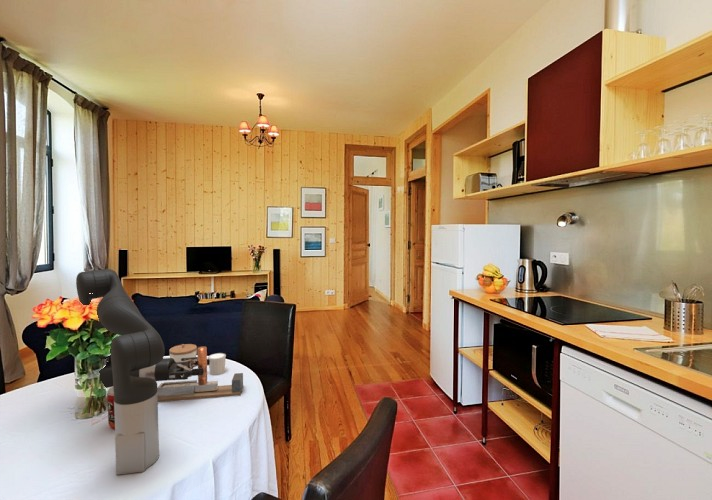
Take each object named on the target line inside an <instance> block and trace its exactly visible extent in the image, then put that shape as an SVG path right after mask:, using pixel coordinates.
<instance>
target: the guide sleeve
mask: <svg viewBox="0 0 712 500" xmlns="http://www.w3.org/2000/svg"><path fill="white" fill-rule="evenodd" d="M197 382H198V379H195V380H177V381H168V382H166V381H163V382H161V383H160V384H159V385H157V393H158V397H160V398H161V397H174V396H186V395H194V385H185V386H171V387H163V386H164V385H169V384H183V383H197Z"/></svg>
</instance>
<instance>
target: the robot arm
mask: <svg viewBox="0 0 712 500" xmlns="http://www.w3.org/2000/svg"><path fill="white" fill-rule="evenodd" d="M75 279H76V280H75V281H76V282H75V283H76V284H75V287H76V291H77V292H76V293H77V297H78V301H80V302H81V303H82V304H83V305H89V304H90V302H91V300H93V299H100V298H101V299H100V301H99V302H98V304H97V307H96V311H97V315H98V318H99V320H100V322H101V323H100V322H97V321H94V327H95V328H101V327H103V326H104V328H106V329H107V330H108V331H110V332H113V333H114V335H115V334H116V335H117V336H115V338H114V339H113V340H112V343H111V349H110V353H111V355H110V356H108V357H109V362H107V364H106V366H105V367H104V368H103V369H101V370H100V371H99V373H100V380H101V381H102V383H103V384H104V386H105V387H106V388H105V389H107V388H108V389H109V388H112V387H113V389H114V412H115V413H114V414H115V429H114V436H115V437H114V440H115V441H114V444H115V447H114V448H115V451H114V452H115V475H125V474H134V473H143V472H145V471H146V469H147V468H149V467H151V466H152V465H153V464H155V462H156V461H158V459H159V457H160V439H159V438H160V437H159V435H160V434H159V432H160V431H159V405H158V404H159V402H158V393H157V388H158V383H157V382H166V381H187V380H188V379H189V378H191V377H192V376H193V377H195V376H197V377H198V375H203V374H204V369H203V368H198V356H196V357H191V358H182V359H181V361H180V362H177V363H176V362H175V361H174V359H173V358H170V357H166V358H165V357H164V356H165V352H166V351H165V350H166V349H165V344H164V341H163V339H162V337H161V335H160V333H158V331H157V330H156V329H155V328H154V327H153V326H152V324H151V323H149V322H148V321H147V320H146V318H144V316H143V315H142V313H141V312H140V310H139V309H138V307H137V305H136V304H135V302H134V301H133V299H132V298H131V297H130V296H129V294H128V293H127V291H126V290H125V288H124V286H123V283H122V281H121V279H120V277H119V275H118V273H117V272H116V271H115V270H114V269H111V268H104V269H95V270H87V271H80V272H79V273H78V274H77V275H76V278H75ZM89 293H91V294H89ZM92 293H93V294H92ZM80 302H79V303H80ZM105 336H108V334H107V333H106V334H105ZM98 357H99V358H100V359H106V358H108V357H103V356H98ZM209 364H210V360H209V359H208V358H207V367H209ZM196 367H197V368H196Z"/></svg>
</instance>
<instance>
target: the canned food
mask: <svg viewBox="0 0 712 500" xmlns="http://www.w3.org/2000/svg"><path fill="white" fill-rule="evenodd" d="M106 397H107V420H108V421H107V422H108V426H109V428H110V429H113V430H115V414H114V413H115V412H114V389H113V387H109V388H108V389H107V396H106Z"/></svg>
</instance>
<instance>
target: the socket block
mask: <svg viewBox="0 0 712 500" xmlns="http://www.w3.org/2000/svg"><path fill="white" fill-rule="evenodd" d="M231 385H232V393H236V392H241V390H242V391H243V389H242V387H243V388H244V372H239V373H234V374H233V377H232V379H231ZM241 393H242V392H241Z"/></svg>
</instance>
